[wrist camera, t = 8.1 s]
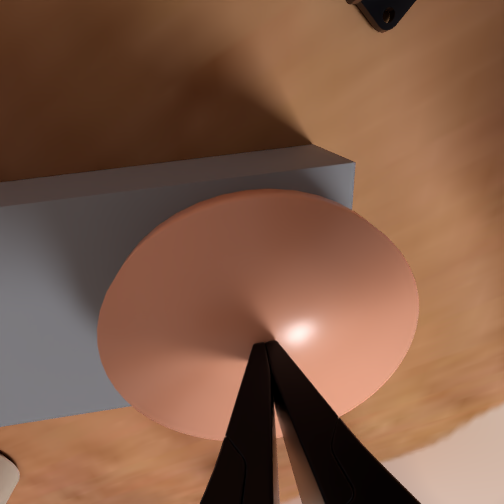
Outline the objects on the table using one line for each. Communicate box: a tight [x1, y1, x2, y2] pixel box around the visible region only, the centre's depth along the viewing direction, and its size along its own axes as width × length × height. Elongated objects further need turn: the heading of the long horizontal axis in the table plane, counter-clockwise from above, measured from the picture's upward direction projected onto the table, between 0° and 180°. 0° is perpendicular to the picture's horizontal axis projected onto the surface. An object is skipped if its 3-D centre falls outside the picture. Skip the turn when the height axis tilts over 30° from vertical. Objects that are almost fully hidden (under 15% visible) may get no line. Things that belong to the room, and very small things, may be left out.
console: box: [0, 144, 355, 427], centre depth 14 cm, size 28×11×5 cm, turn 96°
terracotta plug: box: [97, 189, 419, 441], centre depth 13 cm, size 11×11×6 cm
